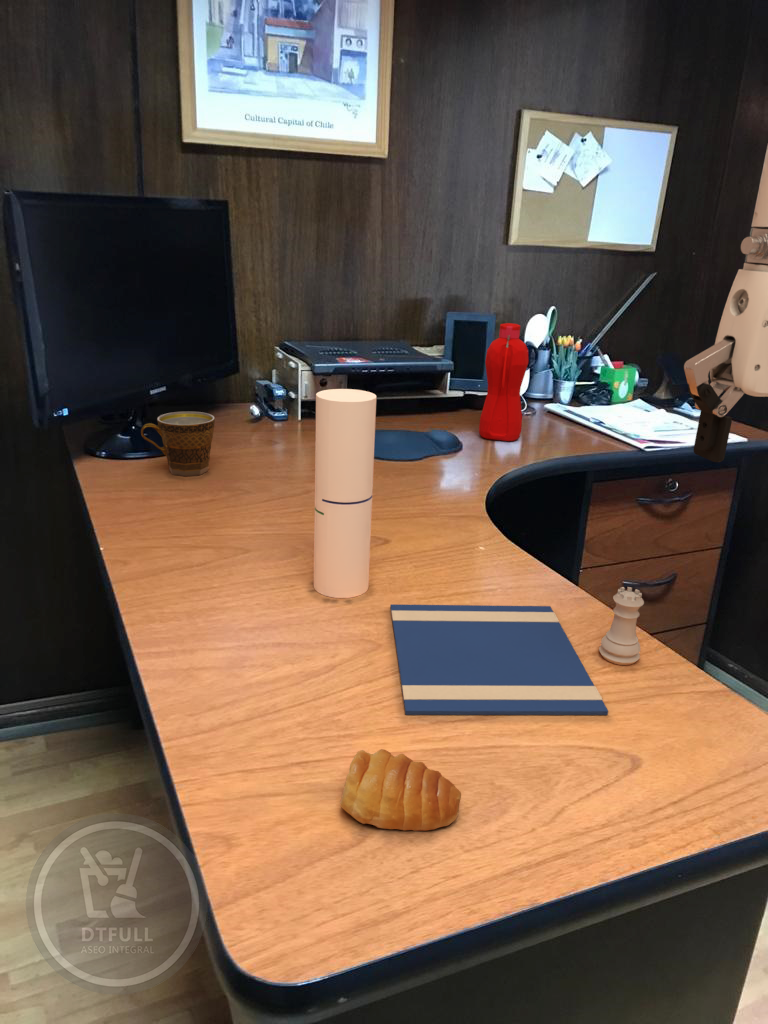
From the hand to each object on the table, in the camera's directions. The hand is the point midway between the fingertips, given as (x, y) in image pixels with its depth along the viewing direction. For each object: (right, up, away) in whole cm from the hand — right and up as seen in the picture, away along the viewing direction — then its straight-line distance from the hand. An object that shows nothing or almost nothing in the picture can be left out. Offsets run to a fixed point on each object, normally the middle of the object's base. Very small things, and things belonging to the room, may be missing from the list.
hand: (752, 454), depth 69 cm
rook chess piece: (-7, -21, +17) cm, 28 cm away
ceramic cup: (-70, +2, +72) cm, 101 cm away
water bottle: (-7, +11, +105) cm, 105 cm away
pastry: (-32, -29, -6) cm, 44 cm away
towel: (-22, -21, +16) cm, 34 cm away
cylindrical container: (-39, -15, +31) cm, 52 cm away
